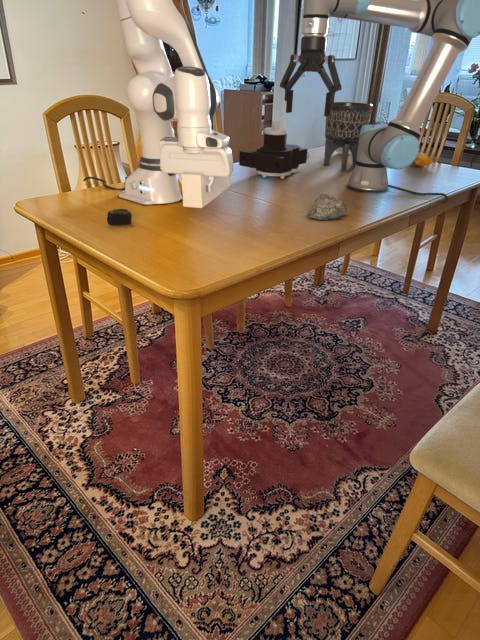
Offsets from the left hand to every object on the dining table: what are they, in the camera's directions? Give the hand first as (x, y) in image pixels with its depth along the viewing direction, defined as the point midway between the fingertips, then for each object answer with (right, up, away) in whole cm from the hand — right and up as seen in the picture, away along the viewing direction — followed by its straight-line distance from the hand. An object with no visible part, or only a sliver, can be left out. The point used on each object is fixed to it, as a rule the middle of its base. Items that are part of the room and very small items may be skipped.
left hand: (197, 191), depth 125 cm
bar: (+2, +1, +9) cm, 9 cm away
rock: (+40, -3, +19) cm, 44 cm away
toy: (+97, +39, +92) cm, 139 cm away
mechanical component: (+29, +28, +71) cm, 82 cm away
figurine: (+67, +52, +114) cm, 143 cm away
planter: (+59, +35, +85) cm, 109 cm away
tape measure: (-23, -8, +8) cm, 26 cm away
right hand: (+33, +30, +20) cm, 49 cm away
